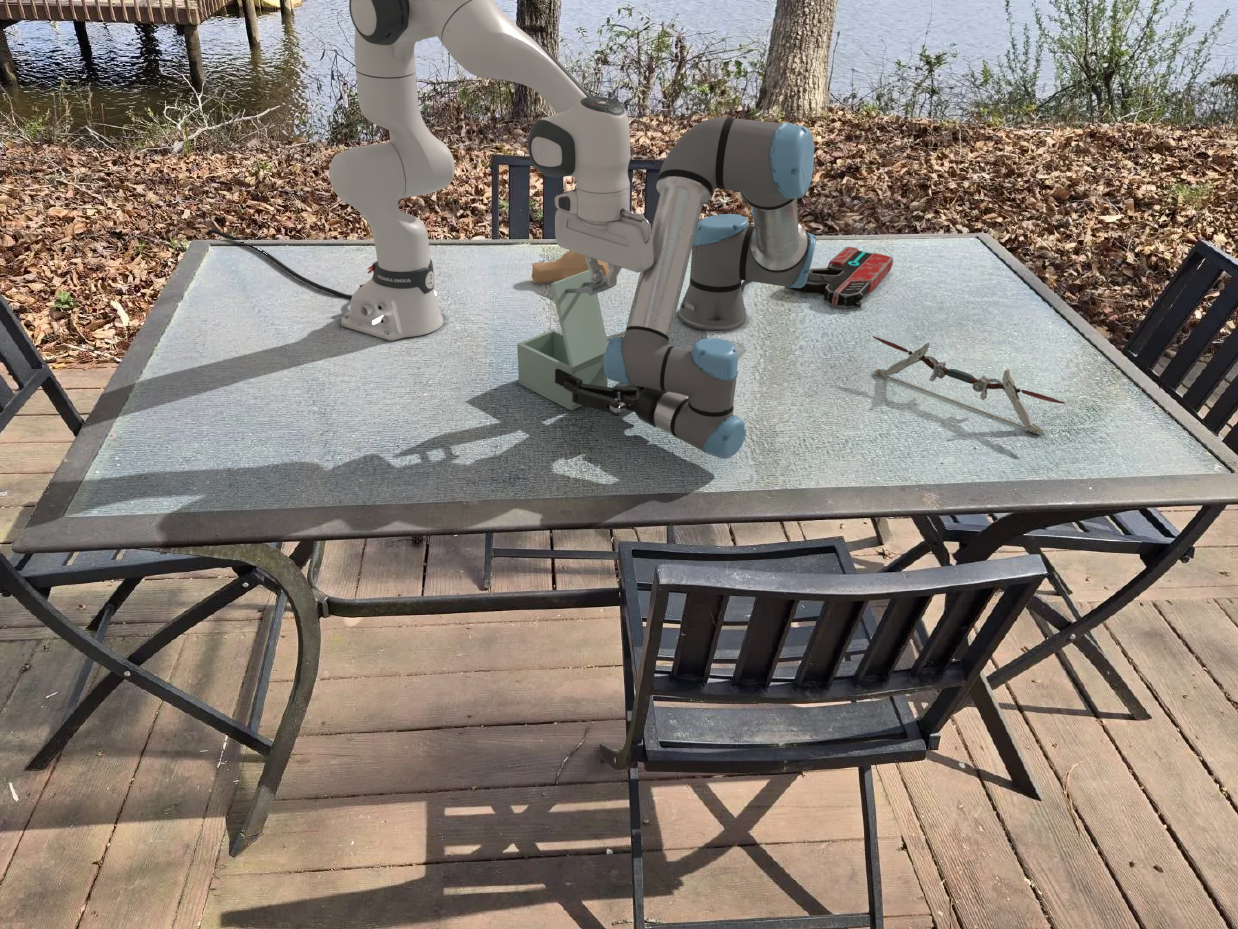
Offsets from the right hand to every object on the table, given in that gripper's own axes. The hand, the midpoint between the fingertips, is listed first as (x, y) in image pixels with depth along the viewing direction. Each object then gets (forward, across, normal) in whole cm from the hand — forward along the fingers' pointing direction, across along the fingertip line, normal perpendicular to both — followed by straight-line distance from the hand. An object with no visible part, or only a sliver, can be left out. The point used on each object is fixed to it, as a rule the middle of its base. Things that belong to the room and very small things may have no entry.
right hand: (576, 366), depth 167 cm
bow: (-54, +51, -6) cm, 74 cm away
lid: (-1, 0, +10) cm, 10 cm away
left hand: (-7, 0, +19) cm, 20 cm away
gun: (-6, +88, -6) cm, 88 cm away
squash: (+41, +39, -6) cm, 57 cm away
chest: (+4, 0, -6) cm, 7 cm away
